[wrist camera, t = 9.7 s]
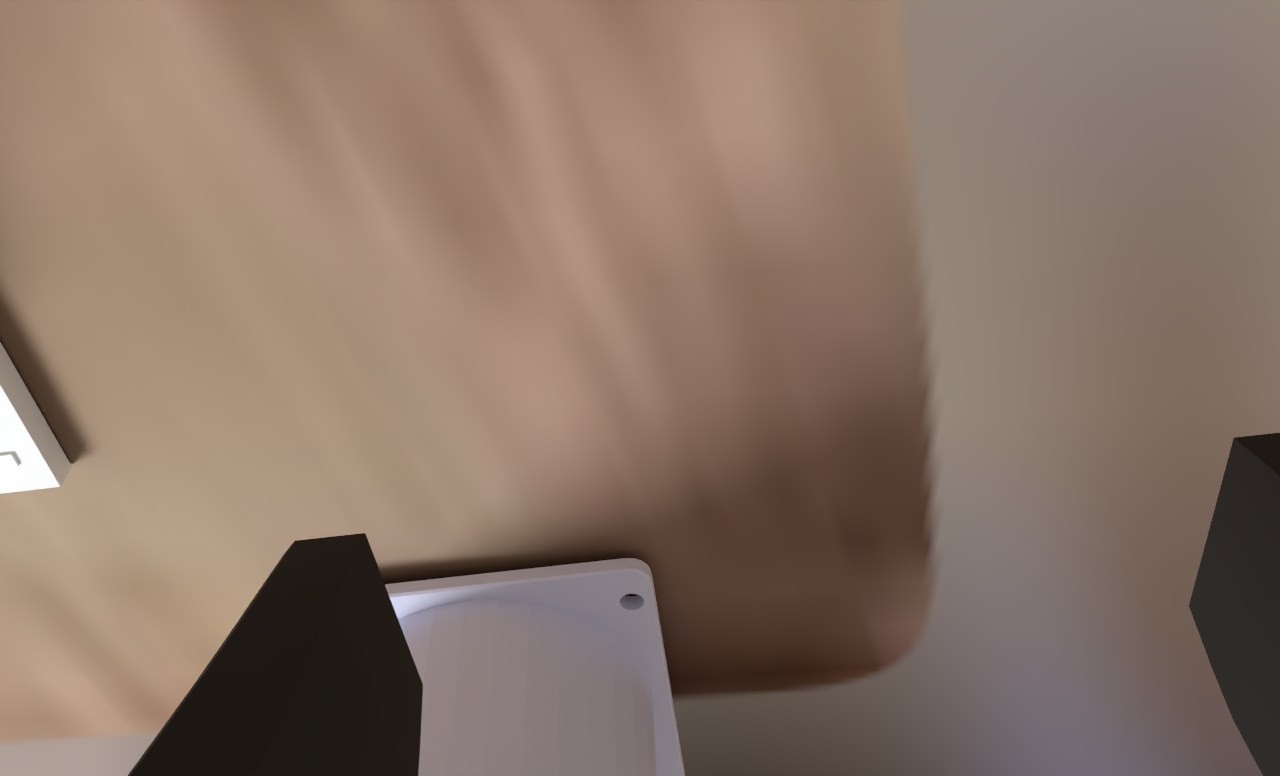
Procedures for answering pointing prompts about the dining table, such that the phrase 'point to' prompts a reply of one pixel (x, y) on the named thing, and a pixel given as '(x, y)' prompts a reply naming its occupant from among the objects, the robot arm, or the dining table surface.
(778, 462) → the dining table surface
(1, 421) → the white board
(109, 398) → the dining table surface
